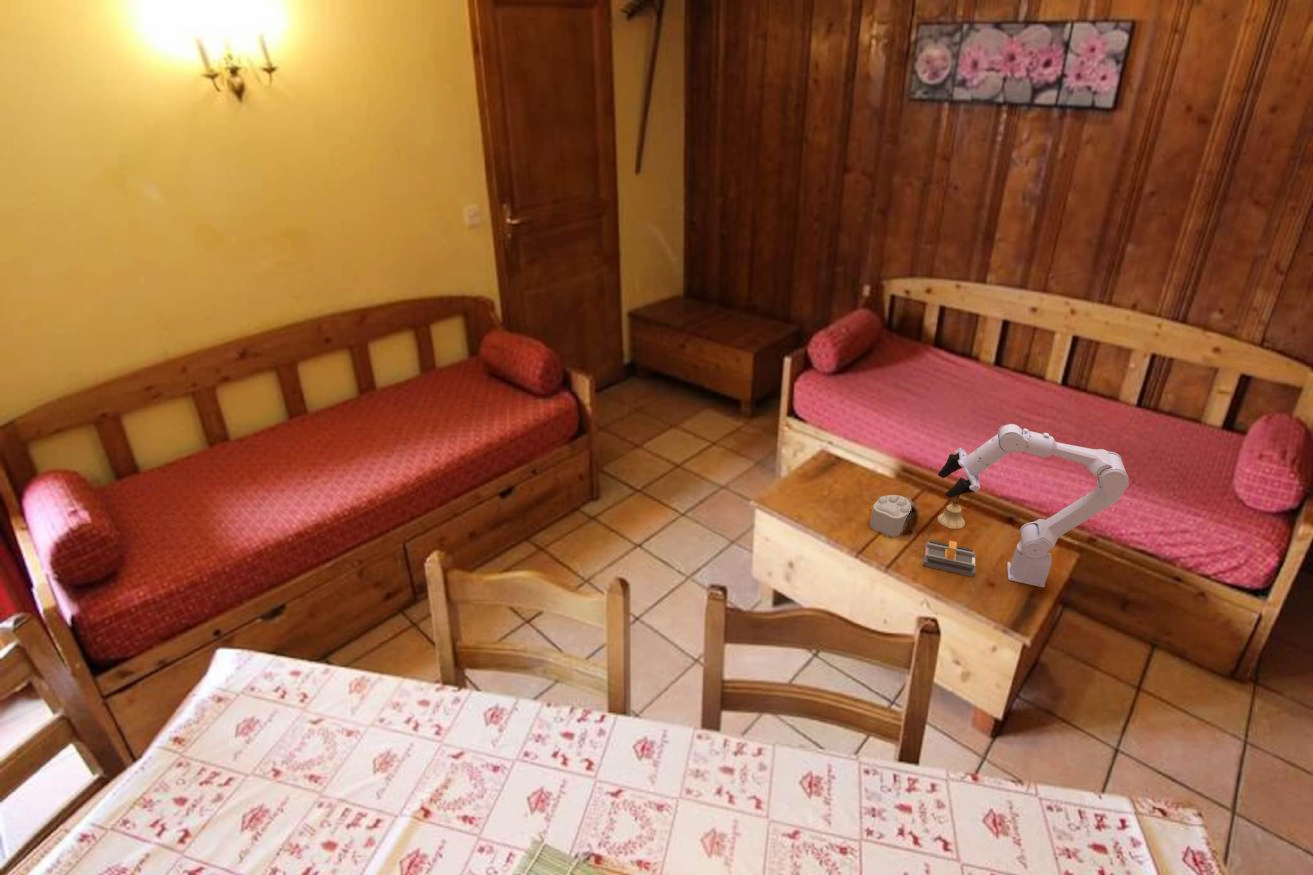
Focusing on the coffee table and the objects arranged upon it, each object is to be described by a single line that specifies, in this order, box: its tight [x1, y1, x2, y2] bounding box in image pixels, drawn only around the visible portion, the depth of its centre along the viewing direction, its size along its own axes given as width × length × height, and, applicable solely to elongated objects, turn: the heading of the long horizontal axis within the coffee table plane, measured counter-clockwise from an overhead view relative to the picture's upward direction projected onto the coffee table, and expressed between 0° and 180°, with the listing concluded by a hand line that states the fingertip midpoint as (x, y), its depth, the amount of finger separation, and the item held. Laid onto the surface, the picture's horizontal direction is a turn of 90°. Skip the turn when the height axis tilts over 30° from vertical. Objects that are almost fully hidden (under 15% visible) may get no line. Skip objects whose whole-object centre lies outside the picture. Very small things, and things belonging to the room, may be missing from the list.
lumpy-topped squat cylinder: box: [869, 494, 912, 538], centre depth 227 cm, size 10×13×9 cm
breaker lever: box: [945, 540, 958, 560], centre depth 211 cm, size 3×4×4 cm
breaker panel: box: [922, 539, 976, 578], centre depth 212 cm, size 14×10×3 cm
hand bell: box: [937, 477, 966, 530], centre depth 226 cm, size 8×8×16 cm
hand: (944, 485), depth 203 cm, fingers open, 7 cm apart
